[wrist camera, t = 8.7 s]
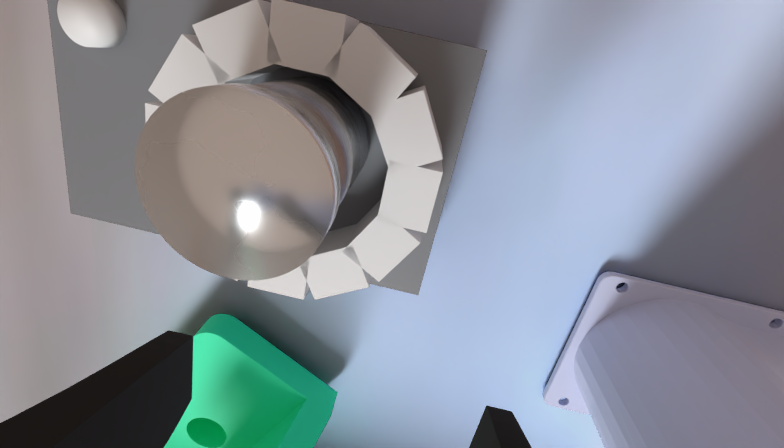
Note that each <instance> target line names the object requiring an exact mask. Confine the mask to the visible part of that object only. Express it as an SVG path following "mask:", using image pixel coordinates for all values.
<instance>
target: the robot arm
mask: <svg viewBox="0 0 784 448" xmlns="http://www.w3.org/2000/svg"><path fill="white" fill-rule="evenodd" d="M622 282H624V283H625V284H624V285H623V287H621V288H616V286H617V285H618V284H619V283H622ZM774 319H775V320H774ZM772 320H774V321H773V322H771V321H772ZM770 322H771V323H770ZM192 372H193V336H190V335H186V334H182V333H177V332H173V331H167V332H165V333H163V334H162V335H160V336H158V337H156V338H155V339H153V340H151V341H149V342H148V343H146V344H144V345H142V346H141V347H139V348H137V349H136V350H134V351H132V352H130V353H129V354H127V355H125V356H124V357H122V358H120V359H118V360H117V361H115V362H113V363H111V364H110V365H108V366H106V367H105V368H103V369H101V370H99V371H97V372H96V373H94V374H92V375H90V376H89V377H87V378H85V379H83V380H81V381H80V382H78V383H76V384H74V385H72V386H71V387H69V388H67V389H65V390H63V391H62V392H60V393H58V394H56V395H54V396H52V397H50V398H48V399H46V400H44V401H42V402H41V403H39V404H37V405H35V406H33V407H31V408H29V409H27V410H25V411H23V412H21V413H19V414H17V415H16V416H14V417H12V418H10V419H8V420H6V421H4V422H2V423H0V448H164V446H165V445H166V443H167V442H168V440H169V439H170V437H171V435H172V433H173V432H174V430H175V428H176V427H177V425H178V423H179V421H180V420H181V418H182V416H183V414H184V412H185V411H186V409H187V407H188V405H189V403H190V401H191V400H192ZM543 398H544V401H545V403H546V404H548V405H550V406H554V407H558V408H562V409H566V410H571V411H575V412H579V413H583V414H588V415H591V417H592V420H593V422H594V424H595V426H596V429H597V431H598V433H599V436H600V438H601V440H602V443H603V445H604V447H605V448H784V312H783V311H779V310H774V309H770V308H766V307H762V306H757V305H753V304H749V303H745V302H740V301H736V300H732V299H728V298H723V297H719V296H715V295H710V294H706V293H702V292H698V291H693V290H689V289H685V288H681V287H676V286H672V285H668V284H664V283H659V282H655V281H651V280H647V279H642V278H638V277H634V276H629V275H625V274H621V273H617V272H610V271H608V272H604V273H603V274H601V275H600V276H599V277H598V279H597V281H596V283H595V285H594V287H593V289H592V291H591V293H590V295H589V298H588V300H587V302H586V304H585V306H584V308H583V310H582V312H581V314H580V316H579V318H578V320H577V323H576V325H575V327H574V329H573V331H572V333H571V335H570V337H569V339H568V341H567V343H566V345H565V348H564V350H563V352H562V354H561V356H560V358H559V360H558V362H557V364H556V366H555V368H554V370H553V373H552V375H551V377H550V379H549V381H548V383H547V385H546V387H545V389H544V391H543ZM561 398H565V399H563V400H560V399H561ZM469 448H531V446H530V444H529V442H528V440H527V438H526V437H525V435H524V433H523V431H522V429H521V427H520V426H519V424H518V422H517V420H516V418H515V416H514V415H513V413H512V412H511V411H507V410H503V409H499V408H494V407H490V406H486V408H485V411H484V413H483V416H482V418H481V420H480V423H479V425H478V428H477V430H476V432H475V435H474V437H473V440H472V442H471V445H470V447H469Z"/></svg>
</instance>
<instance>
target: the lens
mask: <svg viewBox="0 0 784 448" xmlns="http://www.w3.org/2000/svg"><path fill="white" fill-rule="evenodd" d="M369 143H370V138H369V129H368V125H367V121H366V118H365V116H364V114H363V112H362V110H361V108H360V106H359V105H358V103H357V102H356V101H355V100H354V99H352V98H351V97H350V96H349V95H348V94H347V93H346V92H345V91H344V90H343V89H342V88H341V87H340V86H338V85H337V84H335V83H333V82H331V81H328V80H326V79H323V78H319V77H311V76H301V77H295V78H289V79H283V80H276V81H270V82H264V83H258V84H252V85H251V84H242V83H226V84H218V85H211V86H204V87H199V88H193V89H190V90H187V91H184V92H181V93H179V94H177V95H175V96H173V97H172V98H170V99H168V100H167V101H166V102H164V103H163V104H162V105H161V106H159V107H158V108H157V109H156V111H155V112H154V113H153V114H152V115H151V116H150V118H149V119H148V121H147V122H146V124H145V125H144V127H143V130H142V132H141V134H140V136H139V139H138V143H137V147H136V153H135V179H136V185H137V189H138V193H139V196H140V200H141V202H142V204H143V207H144V209H145V211H146V213H147V215H148V217H149V219H150V221H151V222H152V224H153V225H154V227H155V228H156V230H157V231H158V232H159V234H160V235H161V236H162V237H163V238H164V239H165V241H166V242H167V243H168V244H169V245H170V246H171V247H172V248H173V249H174V250H176V251H177V252H178V253H179V254H180V255H182V256H183V257H184V258H186V259H187V260H189V261H190V262H192V263H193V264H195V265H197V266H198V267H200V268H202V269H204V270H207V271H209V272H211V273H214V274H217V275H219V276H223V277H227V278H231V279H238V280H253V281H256V280H265V279H270V278H275V277H278V276H281V275H284V274H286V273H289V272H290V271H292V270H294V269H296V268H298V267H299V266H300V265H302V264H303V263H304V262H306V261H307V260H308V259H309V258H310V257H311V256H312V255H313V254H314V252H315V251H316V250H317V248H318V247H319V246H320V244H321V243H322V241H323V239H324V238H325V236H326V234H327V233H328V231H329V229H330V227H331V225H332V223H333V221H334V219H335V216H336V213H337V211H338V207H339V205H340V203H341V202H342V200H343V199H344V197H345V195H346V194H347V192H348V191H349V189H350V187H351V186H352V184H353V183H354V181H355V179H356V178H357V176H358V175H359V173H360V171H361V170H362V168H363V166H364V164H365V162H366V159H367V156H368V152H369Z"/></svg>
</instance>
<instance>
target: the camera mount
mask: <svg viewBox="0 0 784 448" xmlns="http://www.w3.org/2000/svg"><path fill="white" fill-rule="evenodd" d="M336 396H337V392H336V391H335V390H334V389H332V388H331V387H330V386H328V385H327V384H325V383H324V382H323V381H321V380H320V379H319V378H317V377H316V376H315V375H313V374H312V373H310V372H309V371H308V370H306V369H305V368H304V367H302V366H301V365H299V364H298V363H297V362H295V361H294V360H293V359H291V358H290V357H289V356H287V355H286V354H284V353H283V352H282V351H280V350H279V349H278V348H276V347H275V346H274V345H272V344H271V343H269V342H268V341H267V340H265V339H264V338H263V337H261V336H260V335H259V334H257V333H256V332H254V331H253V330H252V329H250V328H249V327H248V326H246V325H245V324H244V323H242V322H241V321H239V320H238V319H237V318H235V317H233V316H231V315H228V314H216V315H213V316H211V317H210V318H209V319H208V320H207V321H206V322H205V324H204V325H203V326H202V327H201V328H200V329H199V330H198V332H197V333H196V334H195V335H194V336H193V372H192V400H191V401H190V403H189V405H188V407H187V409H186V411H185V412H184V414H183V416H182V418H181V420H180V421H179V423H178V425H177V427H176V428H175V430H174V432H173V433H172V435H171V437H170V439H169V440H168V442H167V443H166V445H165V446H164V448H314V446H315V444H316V442H317V440H318V439H319V437H320V435H321V433H322V431H323V429H324V427H325V426H326V424H327V422H328V420H329V418H330V416H331V414H332V410H333V407H334V403H335V399H336Z"/></svg>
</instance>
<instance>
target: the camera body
mask: <svg viewBox="0 0 784 448" xmlns="http://www.w3.org/2000/svg"><path fill="white" fill-rule="evenodd" d="M47 1H48V10H49V19H50V28H51V38H52V47H53V56H54V65H55V74H56V83H57V92H58V102H59V111H60V120H61V129H62V138H63V147H64V156H65V165H66V175H67V184H68V193H69V202H70V211H71V213H72V214H76V215H80V216H84V217H89V218H93V219H97V220H101V221H106V222H110V223H114V224H118V225H123V226H127V227H131V228H135V229H140V230H144V231H148V232H152V233H157V234H159V232H158V231H157V230H156V228H155V227H154V225H153V224H152V222H151V221H150V219H149V217H148V215H147V213H146V211H145V209H144V207H143V204H142V202H141V200H140V196H139V193H138V189H137V185H136V179H135V153H136V147H137V143H138V139H139V136H140V134H141V132H142V130H143V127H144V125H145V124H146V122H147V121H148V119H149V118H150V116H151V115H152V114H153V113H154V112H155V111H156V109H157V108H158V107H159V106H161V105H162V104H163V103H164V102H166V101H167V100H168V99H170V98H172V97H173V96H175V95H177V94H179V93H181V92H184V91H187V90H190V89H193V88H199V87H204V86H211V85H218V84H226V83H242V84H251V85H252V84H258V83H264V82H270V81H276V80H283V79H289V78H295V77H301V76H311V77H319V78H323V79H326V80H328V81H331V82H333V83H335V84H337V85H338V86H340V87H341V88H342V89H343V90H344V91H345V92H346V93H347V94H348V95H349V96H350V97H351V98H352V99H354V100H355V101H356V102H357V103H358V105H359V106H360V108H361V110H362V112H363V114H364V116H365V118H366V121H367V125H368V129H369V138H370V143H369V152H368V156H367V159H366V162H365V164H364V166H363V168H362V170H361V171H360V173H359V175H358V176H357V178H356V179H355V181H354V183H353V184H352V186H351V187H350V189H349V191H348V192H347V194H346V195H345V197H344V199H343V200H342V202H341V203H340V205H339V207H338V211H337V213H336V216H335V219H334V221H333V223H332V225H331V227H330V229H329V231H328V233H327V234H326V236H325V238H324V239H323V241H322V243H321V244H320V246H319V247H318V248H317V250H316V251H315V252H314V254H313V255H312V256H311V257H310V258H309V259H308V260H307V261H306V262H304V263H303V264H302V265H300V266H299V267H298V268H296V269H294V270H292V271H290V272H289V273H286V274H284V275H281V276H278V277H275V278H270V279H265V280H256V281H253V280H248V287H252V288H256V289H260V290H264V291H269V292H273V293H277V294H281V295H286V296H290V297H294V298H298V299H303V300H304V298H305V296H306V294H307V292H308V291H309V289H310V290H311V292H312V295H313V297H314V299H315V300H316V299H321V298H325V297H329V296H333V295H338V294H342V293H346V292H350V291H355V290H359V289H363V288H367V287H369V285H370V284H373V285H378V286H382V287H386V288H390V289H395V290H399V291H403V292H407V293H412V294H416V295H418V294H419V290H420V287H421V283H422V280H423V276H424V272H425V269H426V265H427V262H428V258H429V255H430V251H431V248H432V244H433V241H434V237H435V233H436V230H437V226H438V223H439V219H440V216H441V212H442V209H443V205H444V201H445V198H446V194H447V191H448V187H449V184H450V180H451V177H452V173H453V169H454V166H455V162H456V159H457V155H458V152H459V148H460V145H461V141H462V138H463V134H464V130H465V127H466V123H467V120H468V116H469V113H470V109H471V106H472V102H473V98H474V95H475V91H476V88H477V84H478V81H479V77H480V74H481V70H482V67H483V63H484V59H485V56H486V52H487V50H483V49H479V48H475V47H470V46H466V45H462V44H458V43H453V42H449V41H445V40H440V39H436V38H432V37H427V36H423V35H419V34H414V33H410V32H406V31H402V30H397V29H393V28H389V27H384V26H380V25H376V24H371V23H367V22H363V21H359V20H357V19H355V18H352V17H350V16H348V15H345V14H341V13H337V12H332V11H328V10H324V9H319V8H315V7H311V6H306V5H302V4H298V3H294V2H289V1H285V0H47ZM234 280H236V281H238V279H234Z"/></svg>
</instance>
